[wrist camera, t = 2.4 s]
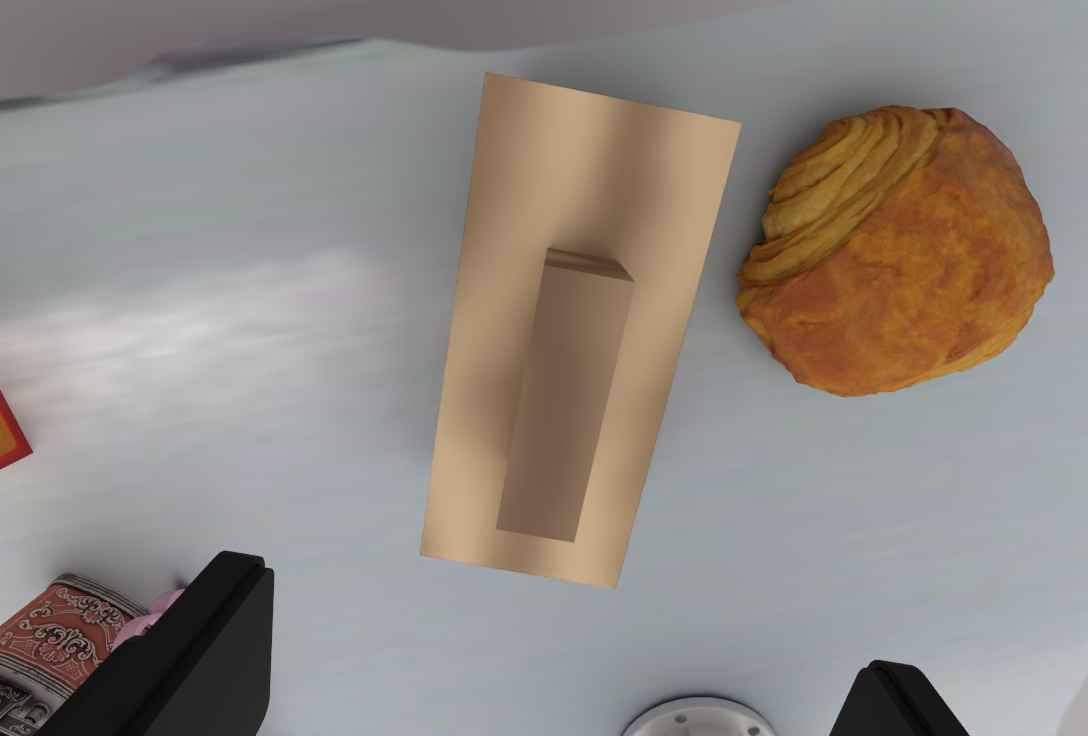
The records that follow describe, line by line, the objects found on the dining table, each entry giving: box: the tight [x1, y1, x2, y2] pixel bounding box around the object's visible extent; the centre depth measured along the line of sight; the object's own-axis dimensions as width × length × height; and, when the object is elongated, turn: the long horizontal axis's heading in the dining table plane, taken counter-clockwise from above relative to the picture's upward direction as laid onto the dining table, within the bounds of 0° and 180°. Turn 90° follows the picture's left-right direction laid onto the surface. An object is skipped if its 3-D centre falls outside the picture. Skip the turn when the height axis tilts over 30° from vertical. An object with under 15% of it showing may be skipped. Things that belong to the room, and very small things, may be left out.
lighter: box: [0, 573, 152, 736], centre depth 36 cm, size 8×3×10 cm, turn 54°
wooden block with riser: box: [420, 72, 742, 589], centre depth 23 cm, size 10×22×8 cm, turn 169°
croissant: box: [735, 105, 1055, 397], centre depth 29 cm, size 14×16×8 cm
